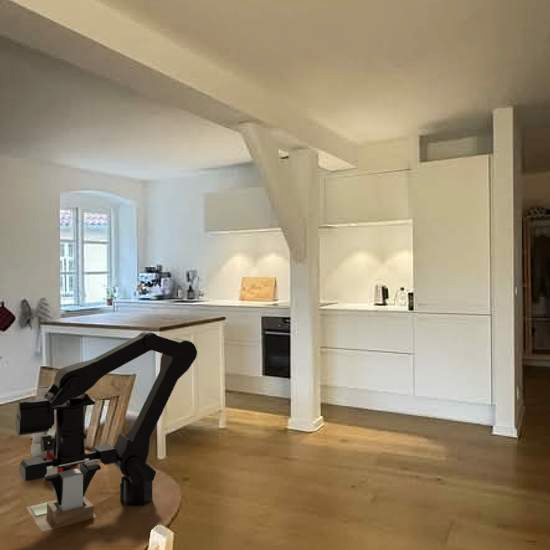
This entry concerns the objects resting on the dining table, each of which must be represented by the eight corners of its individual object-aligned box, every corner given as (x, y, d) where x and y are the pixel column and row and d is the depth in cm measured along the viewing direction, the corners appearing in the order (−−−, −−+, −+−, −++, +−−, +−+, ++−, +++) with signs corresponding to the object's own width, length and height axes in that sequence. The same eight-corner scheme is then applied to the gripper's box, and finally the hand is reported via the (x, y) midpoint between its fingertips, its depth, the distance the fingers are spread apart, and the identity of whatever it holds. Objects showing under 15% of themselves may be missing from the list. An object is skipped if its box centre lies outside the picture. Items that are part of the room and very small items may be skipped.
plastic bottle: (32, 455, 153) (32, 386, 153) (57, 453, 155) (57, 384, 155) (29, 462, 146) (29, 390, 147) (55, 460, 148) (55, 389, 149)
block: (82, 517, 111) (82, 474, 111) (63, 522, 109) (63, 478, 109) (77, 510, 114) (77, 468, 114) (57, 515, 112) (57, 472, 112)
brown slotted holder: (97, 521, 111) (97, 504, 111) (41, 536, 105) (41, 519, 105) (77, 499, 123) (77, 484, 123) (25, 511, 116) (25, 495, 116)
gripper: (101, 413, 124) (101, 480, 124) (14, 426, 112) (13, 500, 112) (119, 423, 115) (118, 495, 115) (26, 439, 104) (25, 519, 104)
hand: (70, 501), depth 112 cm, fingers closed on block, 4 cm apart
